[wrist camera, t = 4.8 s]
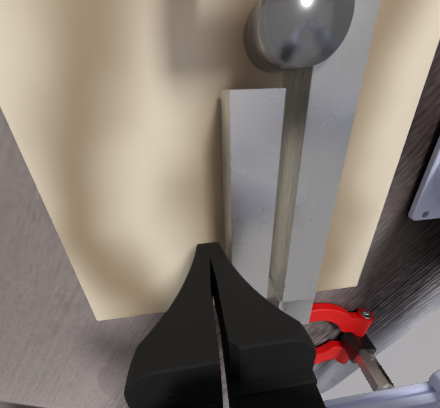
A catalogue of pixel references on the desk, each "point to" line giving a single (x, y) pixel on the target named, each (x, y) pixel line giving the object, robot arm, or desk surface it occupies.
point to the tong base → (309, 127)
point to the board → (179, 132)
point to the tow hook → (351, 342)
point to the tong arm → (251, 177)
